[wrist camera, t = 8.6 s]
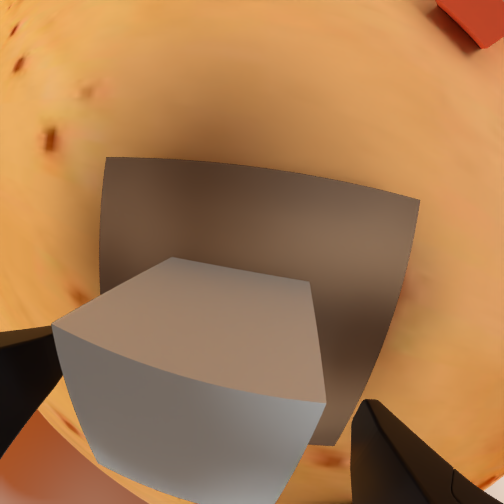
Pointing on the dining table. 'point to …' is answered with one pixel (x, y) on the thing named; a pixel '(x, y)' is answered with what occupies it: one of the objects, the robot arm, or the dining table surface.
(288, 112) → the dining table surface
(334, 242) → the walnut block
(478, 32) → the french fries container
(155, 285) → the grey-blue block
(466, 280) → the dining table surface
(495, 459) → the dining table surface
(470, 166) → the dining table surface
